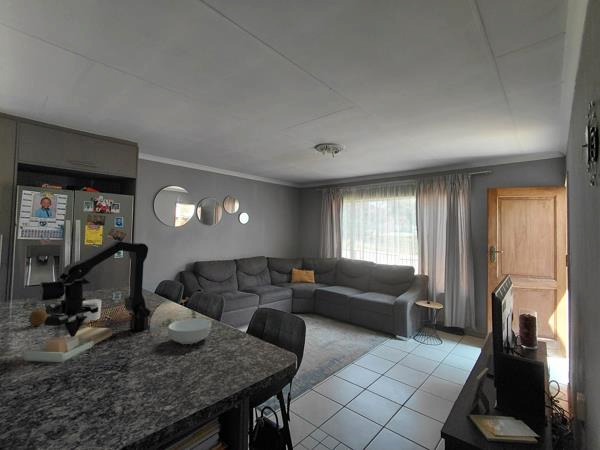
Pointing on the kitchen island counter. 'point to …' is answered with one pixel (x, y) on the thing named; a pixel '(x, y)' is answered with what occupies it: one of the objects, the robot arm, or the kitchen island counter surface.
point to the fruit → (37, 317)
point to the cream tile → (71, 342)
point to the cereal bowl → (189, 330)
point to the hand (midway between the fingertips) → (72, 336)
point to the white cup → (90, 315)
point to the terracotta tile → (56, 345)
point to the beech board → (93, 334)
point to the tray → (56, 353)
